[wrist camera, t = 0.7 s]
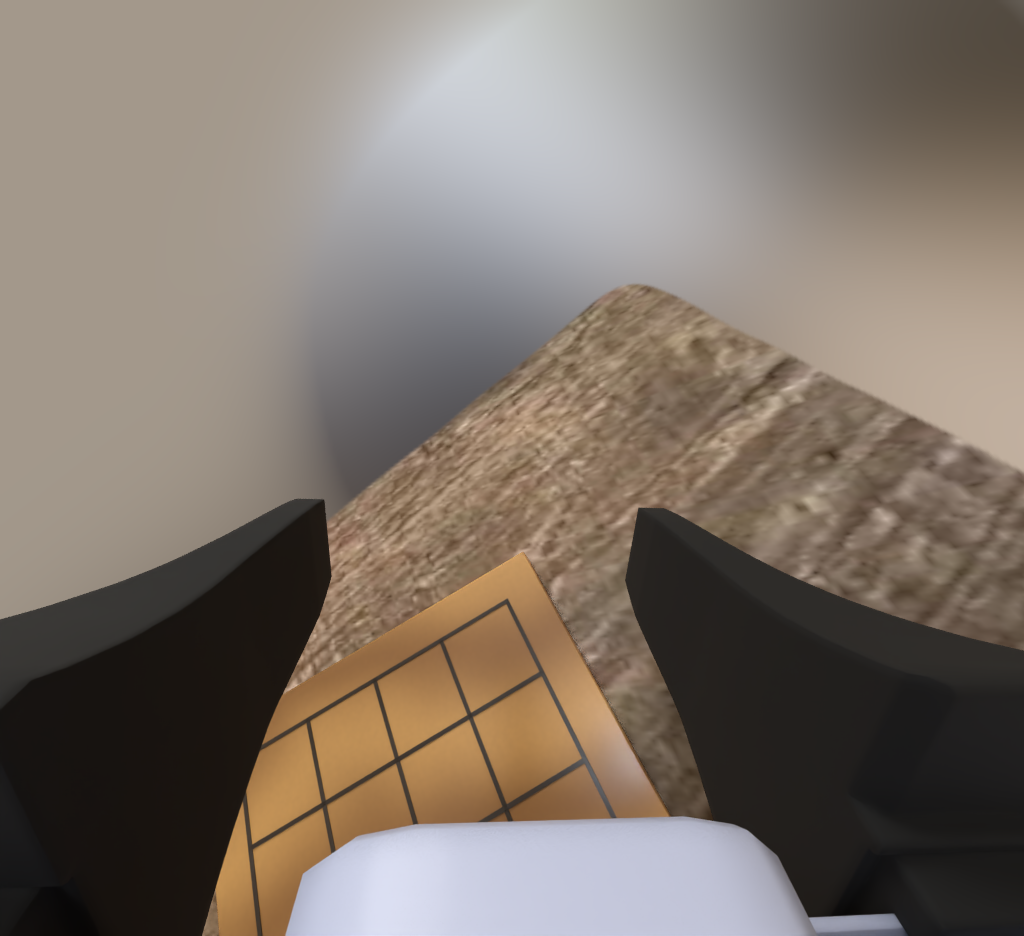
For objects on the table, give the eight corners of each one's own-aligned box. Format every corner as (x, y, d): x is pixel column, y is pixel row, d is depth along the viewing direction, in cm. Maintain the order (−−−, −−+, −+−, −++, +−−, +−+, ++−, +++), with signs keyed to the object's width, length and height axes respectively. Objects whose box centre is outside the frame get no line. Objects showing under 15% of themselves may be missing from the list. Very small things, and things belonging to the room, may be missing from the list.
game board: (793, 1037, 17) (801, 1055, 16) (278, 1360, 16) (250, 1402, 15) (528, 558, 28) (522, 550, 27) (221, 741, 28) (203, 740, 26)
